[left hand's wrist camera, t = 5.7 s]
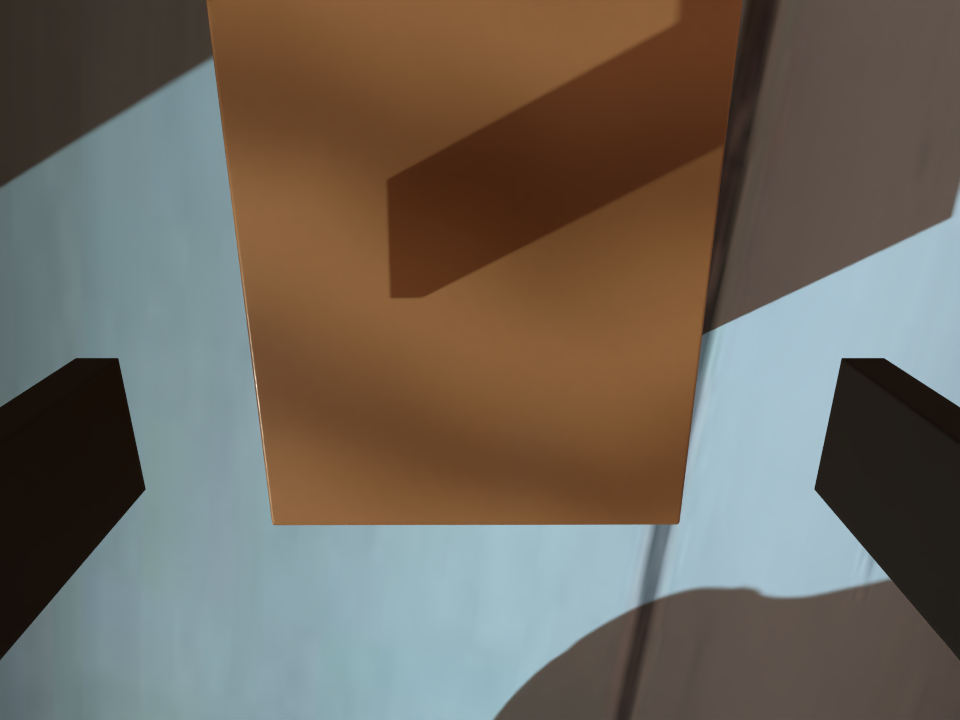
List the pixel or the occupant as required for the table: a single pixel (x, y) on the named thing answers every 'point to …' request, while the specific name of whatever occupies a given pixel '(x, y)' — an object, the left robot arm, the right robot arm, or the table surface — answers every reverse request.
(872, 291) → the table surface
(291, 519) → the cabinet
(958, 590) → the left robot arm
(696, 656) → the table surface
